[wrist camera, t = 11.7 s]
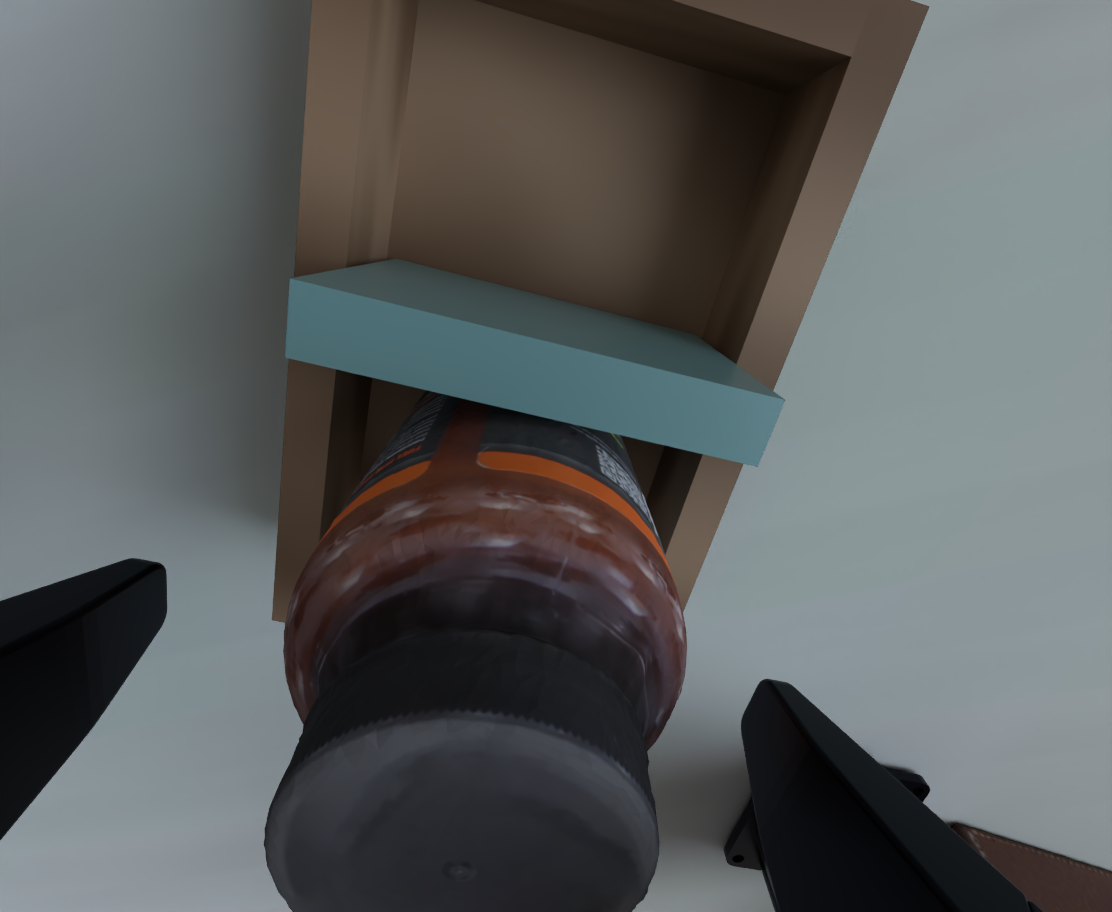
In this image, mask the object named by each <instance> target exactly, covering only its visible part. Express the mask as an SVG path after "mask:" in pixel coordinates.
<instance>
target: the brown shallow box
mask: <svg viewBox="0 0 1112 912" xmlns="http://www.w3.org/2000/svg"><path fill="white" fill-rule="evenodd" d="M928 9H929V6H926V5H923V4H920V3H917V2H914V1H911V0H312V8H311V23H310V39H309V54H308V70H307V85H306V101H305V116H304V132H303V147H302V163H301V178H300V194H299V209H298V225H297V240H296V256H295V271H294V277H300V276H305V275H311V274H316V273H321V272H327V271H332V270H338V269H343V268H348V267H354V266H359V265H365V264H370V263H375V262H381V261H386V260H392V259H400V260H404V261H407V262H411V263H415V264H419V265H423V266H427V267H431V268H435V269H439V270H443V271H447V272H451V273H455V274H459V275H463V276H467V277H471V278H474V279H478V280H482V281H486V282H490V283H494V284H498V285H502V286H506V287H510V288H514V289H518V290H522V291H526V292H530V293H534V294H537V295H541V296H545V297H549V298H553V299H557V300H561V301H565V302H569V303H573V304H577V305H581V306H585V307H589V308H593V309H597V310H601V311H604V312H608V313H612V314H616V315H620V316H624V317H628V318H632V319H636V320H640V321H644V322H648V323H652V324H656V325H660V326H664V327H668V328H671V329H675V330H679V331H683V332H687V333H691V334H695V335H696V336H698V337H699V338H701V339H702V340H703V341H705V342H706V343H707V344H709V345H710V346H712V347H713V348H714V349H716V350H717V351H718V352H720V353H721V354H723V355H724V356H725V357H727V358H728V359H729V360H731V361H732V362H734V363H735V364H736V365H738V366H739V367H740V368H742V369H743V370H745V371H746V372H747V373H749V374H750V375H751V376H753V377H754V378H756V379H757V380H758V381H760V382H761V383H762V384H764V385H765V386H767V387H768V388H769V389H771V390H772V391H773V390H774V387H775V385H776V382H777V380H778V378H779V375H780V373H781V370H782V368H783V365H784V363H785V360H786V358H787V355H788V353H789V351H790V348H791V346H792V343H793V341H794V338H795V336H796V333H797V331H798V328H799V326H800V323H801V321H802V319H803V316H804V314H805V311H806V309H807V306H808V304H809V301H810V299H811V296H812V294H813V292H814V289H815V287H816V284H817V282H818V279H819V277H820V274H821V272H822V269H823V267H824V264H825V262H826V260H827V257H828V255H829V252H830V250H831V247H832V245H833V242H834V240H835V237H836V235H837V233H838V230H839V228H840V225H841V223H842V220H843V218H844V215H845V213H846V210H847V208H848V205H849V203H850V201H851V198H852V196H853V193H854V191H855V188H856V186H857V183H858V181H859V178H860V176H861V174H862V171H863V169H864V166H865V164H866V161H867V159H868V156H869V154H870V151H871V149H872V146H873V144H874V142H875V139H876V137H877V134H878V132H879V129H880V127H881V124H882V122H883V119H884V117H885V115H886V112H887V110H888V107H889V105H890V102H891V100H892V97H893V95H894V92H895V90H896V87H897V85H898V83H899V80H900V78H901V75H902V73H903V70H904V68H905V65H906V63H907V60H908V58H909V56H910V53H911V51H912V48H913V46H914V43H915V41H916V38H917V36H918V33H919V31H920V28H921V26H922V24H923V21H924V19H925V16H926V14H927V11H928ZM425 392H426V390H423V389H419V388H415V387H411V386H406V385H402V384H398V383H393V382H389V381H385V380H380V379H376V378H372V377H367V376H363V375H359V374H354V373H350V372H346V371H341V370H337V369H333V368H329V367H324V366H320V365H316V364H311V363H307V362H303V361H298V360H294V359H290V358H289V364H288V380H287V395H286V411H285V426H284V442H283V457H282V473H281V488H280V504H279V519H278V535H277V550H276V566H275V581H274V597H273V612H272V620H274V621H279V622H285V623H286V618H287V613H288V607H289V603H290V601H291V598H292V594H293V592H294V588H295V585H296V582H297V580H298V579H299V577H300V575H301V573H302V571H303V569H304V567H305V565H306V563H307V562H308V560H309V558H310V556H311V554H312V553H313V551H314V550H315V548H316V547H317V545H318V544H319V542H320V541H321V539H322V538H323V536H324V535H325V534H326V532H327V531H328V529H329V528H330V527H331V525H332V523H333V521H334V519H335V518H336V517H337V516H338V515H339V513H340V510H341V509H342V508H343V507H344V506H345V504H346V503H347V501H348V500H349V498H350V497H351V496H352V494H353V493H354V491H355V490H356V489H357V487H358V486H359V484H360V483H361V481H362V480H363V478H364V477H365V476H366V474H367V473H368V472H369V470H370V468H371V467H372V466H373V464H374V463H375V462H376V460H377V459H378V457H379V456H380V455H381V453H382V451H383V449H384V448H385V447H386V446H387V444H388V443H389V442H390V440H391V439H392V437H393V436H394V435H395V433H396V432H397V430H398V429H399V427H400V426H401V425H402V423H403V421H404V420H405V418H406V417H407V416H408V414H409V413H410V411H411V410H412V409H413V408H414V406H415V405H416V403H417V402H418V401H419V399H420V398H421V397H422V395H423V394H424V393H425ZM621 438H622V440H623V442H624V445H625V447H626V451H627V453H628V456H629V458H630V461H631V464H632V467H633V469H634V473H635V475H636V478H637V480H638V483H639V486H640V488H641V491H642V494H643V495H644V497H645V501H646V504H647V507H648V509H649V511H650V514H651V517H652V519H653V523H654V525H655V528H656V531H657V534H658V537H659V538H660V541H661V544H662V547H663V550H664V553H665V556H666V560H667V563H668V566H669V569H670V571H671V574H672V577H673V579H674V582H675V585H676V588H677V591H678V595H679V599H680V603H681V608H682V612H683V611H684V609H685V606H686V604H687V601H688V599H689V596H690V594H691V591H692V589H693V587H694V584H695V582H696V579H697V577H698V574H699V572H700V569H701V567H702V564H703V562H704V559H705V557H706V555H707V552H708V550H709V547H710V545H711V542H712V540H713V537H714V535H715V532H716V530H717V528H718V525H719V523H720V520H721V518H722V515H723V513H724V510H725V508H726V505H727V503H728V500H729V498H730V496H731V493H732V491H733V488H734V486H735V483H736V481H737V478H738V476H739V473H740V471H741V469H742V466H743V463H739V462H734V461H730V460H726V459H721V458H717V457H713V456H708V455H704V454H700V453H695V452H691V451H687V450H682V449H678V448H674V447H669V446H665V445H661V444H657V443H652V442H648V441H644V440H639V439H635V438H631V437H626V436H622V435H621Z"/></svg>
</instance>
